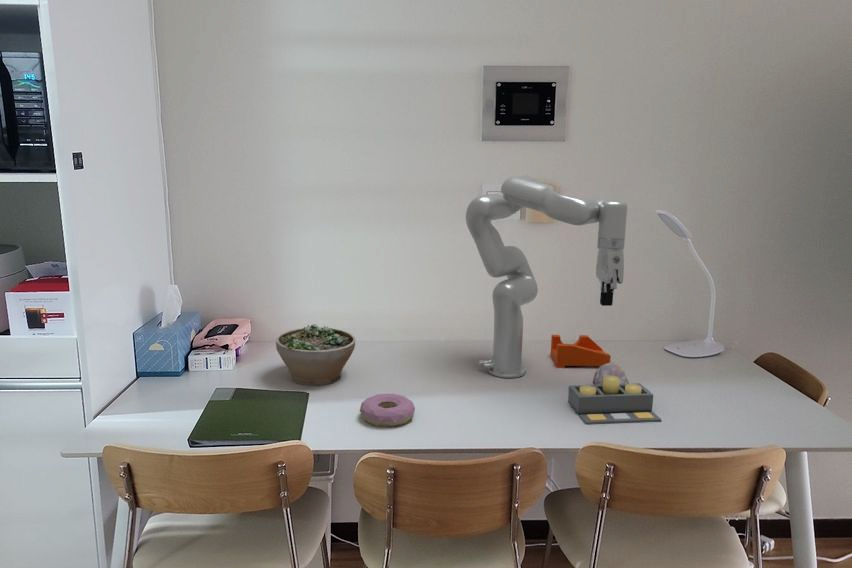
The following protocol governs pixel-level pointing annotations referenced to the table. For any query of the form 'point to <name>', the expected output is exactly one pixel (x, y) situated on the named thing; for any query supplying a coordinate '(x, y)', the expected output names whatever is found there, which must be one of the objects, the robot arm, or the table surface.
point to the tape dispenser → (577, 353)
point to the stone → (609, 373)
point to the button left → (587, 390)
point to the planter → (315, 354)
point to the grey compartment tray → (610, 401)
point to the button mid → (610, 385)
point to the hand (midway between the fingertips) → (606, 304)
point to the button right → (633, 389)
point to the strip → (619, 418)
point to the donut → (387, 410)
